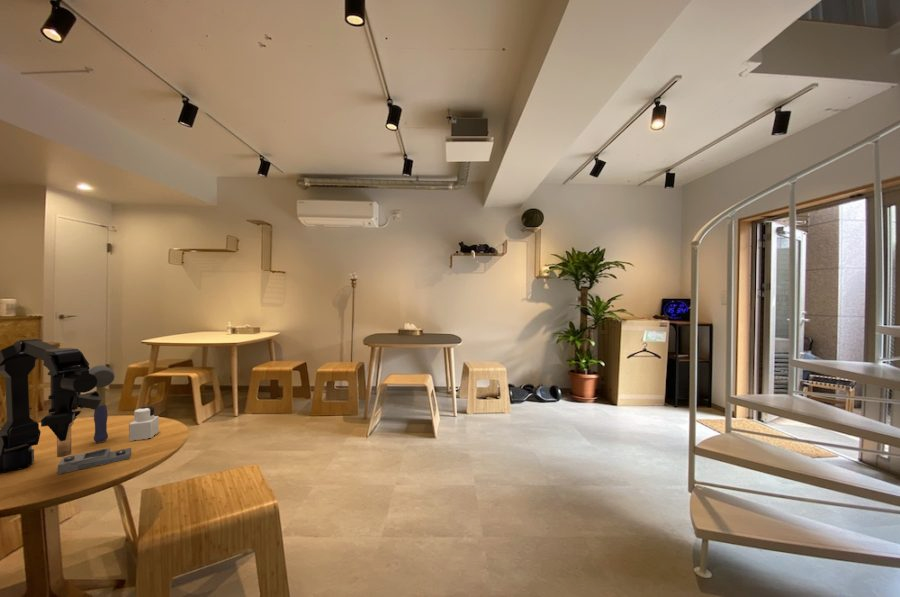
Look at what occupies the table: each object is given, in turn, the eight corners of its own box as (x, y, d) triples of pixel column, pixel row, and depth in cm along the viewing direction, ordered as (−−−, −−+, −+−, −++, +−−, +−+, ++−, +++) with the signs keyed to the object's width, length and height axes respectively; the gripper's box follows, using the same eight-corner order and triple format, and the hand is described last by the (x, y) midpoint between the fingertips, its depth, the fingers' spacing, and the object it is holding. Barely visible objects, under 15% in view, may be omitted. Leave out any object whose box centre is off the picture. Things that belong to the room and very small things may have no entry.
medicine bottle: (137, 434, 141) (137, 406, 141) (159, 432, 144) (158, 404, 144) (128, 441, 135) (128, 411, 135) (151, 439, 137) (150, 409, 137)
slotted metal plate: (57, 474, 110) (57, 463, 110) (62, 465, 115) (62, 455, 115) (129, 458, 121) (129, 448, 121) (131, 451, 126) (131, 441, 126)
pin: (52, 459, 104) (52, 426, 104) (56, 454, 107) (56, 422, 107) (72, 455, 107) (72, 423, 107) (75, 450, 110) (74, 419, 110)
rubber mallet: (116, 443, 133) (116, 367, 133) (88, 450, 127) (88, 370, 127) (112, 434, 141) (111, 363, 141) (85, 440, 135) (85, 365, 135)
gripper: (95, 391, 105) (95, 442, 105) (105, 379, 119) (105, 423, 119) (40, 398, 98) (40, 452, 98) (57, 384, 112) (57, 431, 112)
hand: (64, 438), depth 107 cm, fingers closed on pin, 3 cm apart
